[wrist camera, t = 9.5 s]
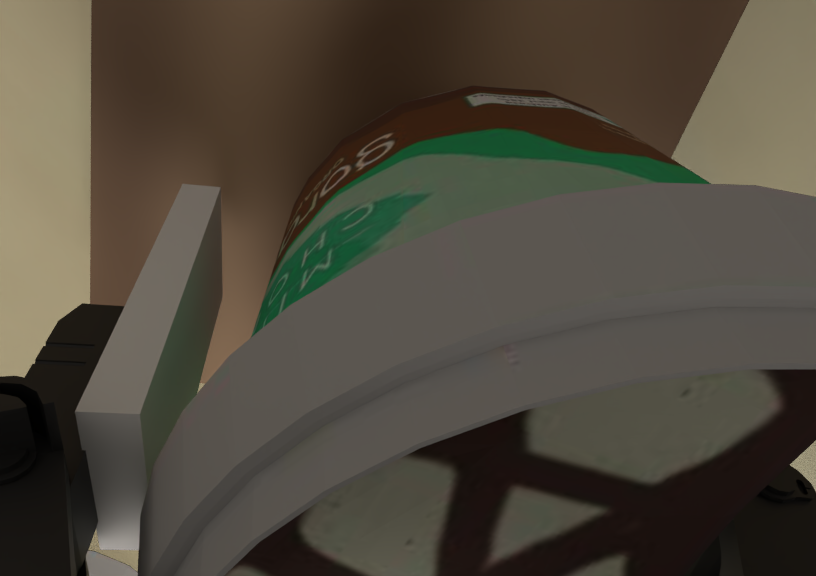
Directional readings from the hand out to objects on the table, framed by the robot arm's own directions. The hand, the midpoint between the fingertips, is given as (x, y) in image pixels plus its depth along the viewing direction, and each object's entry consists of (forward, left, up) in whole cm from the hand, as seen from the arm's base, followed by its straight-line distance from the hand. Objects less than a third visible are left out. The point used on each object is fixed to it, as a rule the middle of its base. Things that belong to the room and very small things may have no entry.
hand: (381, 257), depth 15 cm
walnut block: (0, 0, -9) cm, 9 cm away
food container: (0, 0, -1) cm, 1 cm away
